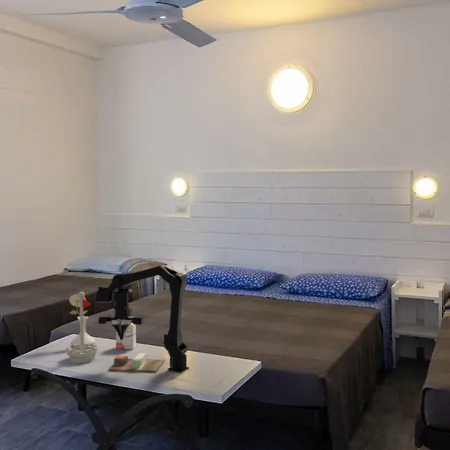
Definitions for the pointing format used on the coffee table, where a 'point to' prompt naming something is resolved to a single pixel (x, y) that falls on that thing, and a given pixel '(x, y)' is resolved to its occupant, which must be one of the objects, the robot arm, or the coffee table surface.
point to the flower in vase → (76, 302)
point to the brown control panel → (126, 365)
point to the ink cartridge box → (127, 338)
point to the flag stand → (82, 340)
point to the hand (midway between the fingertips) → (121, 339)
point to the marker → (139, 360)
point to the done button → (121, 357)
